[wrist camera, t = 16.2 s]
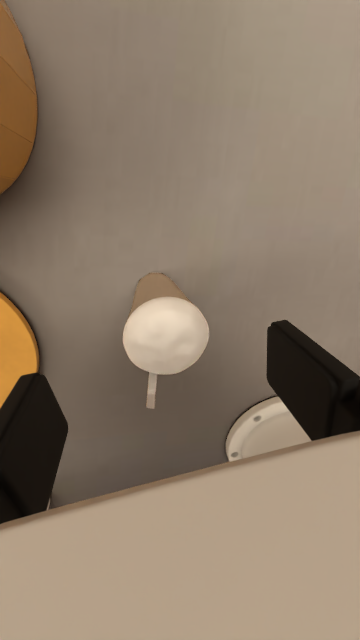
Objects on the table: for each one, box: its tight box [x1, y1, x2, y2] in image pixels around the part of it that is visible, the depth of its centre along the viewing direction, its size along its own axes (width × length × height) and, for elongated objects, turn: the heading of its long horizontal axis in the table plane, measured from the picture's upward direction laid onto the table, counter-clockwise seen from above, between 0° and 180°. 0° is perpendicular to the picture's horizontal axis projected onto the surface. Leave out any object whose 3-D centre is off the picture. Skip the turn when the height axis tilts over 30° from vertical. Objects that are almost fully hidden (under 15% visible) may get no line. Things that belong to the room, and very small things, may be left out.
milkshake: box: [123, 273, 209, 409], centre depth 16 cm, size 4×5×10 cm
